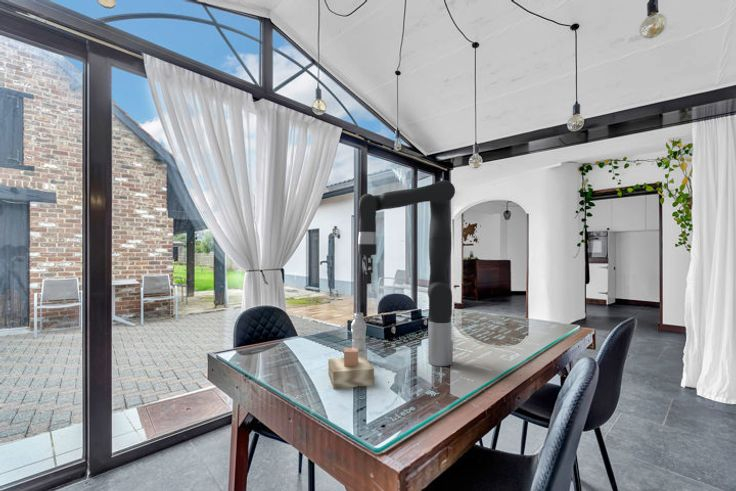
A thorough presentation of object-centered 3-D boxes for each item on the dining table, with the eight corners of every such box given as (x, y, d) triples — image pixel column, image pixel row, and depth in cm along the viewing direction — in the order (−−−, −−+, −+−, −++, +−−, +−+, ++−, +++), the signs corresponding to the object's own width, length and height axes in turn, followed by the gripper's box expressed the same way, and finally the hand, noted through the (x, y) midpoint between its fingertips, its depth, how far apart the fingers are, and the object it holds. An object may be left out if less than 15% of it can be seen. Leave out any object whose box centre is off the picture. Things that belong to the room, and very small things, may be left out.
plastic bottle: (364, 364, 139) (365, 315, 140) (348, 363, 141) (349, 314, 141) (368, 359, 146) (368, 312, 146) (352, 358, 147) (352, 311, 147)
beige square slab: (364, 372, 131) (364, 356, 131) (373, 386, 118) (373, 368, 118) (328, 375, 128) (328, 359, 128) (333, 390, 114) (333, 372, 114)
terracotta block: (357, 361, 125) (357, 347, 126) (358, 365, 121) (358, 351, 121) (343, 361, 125) (344, 347, 125) (344, 366, 120) (344, 351, 120)
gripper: (379, 243, 134) (379, 284, 134) (373, 243, 148) (373, 281, 148) (360, 242, 133) (359, 284, 133) (356, 243, 147) (356, 281, 147)
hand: (367, 282), depth 140 cm, fingers open, 8 cm apart
